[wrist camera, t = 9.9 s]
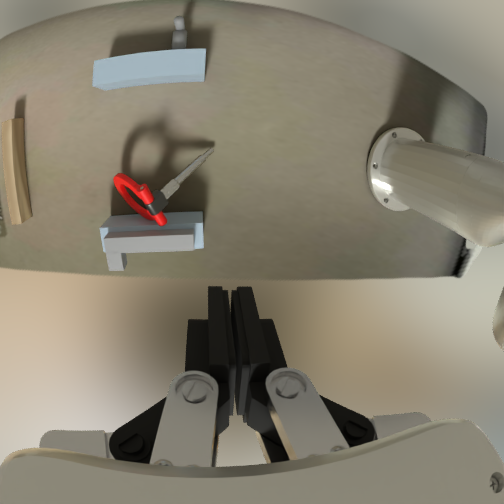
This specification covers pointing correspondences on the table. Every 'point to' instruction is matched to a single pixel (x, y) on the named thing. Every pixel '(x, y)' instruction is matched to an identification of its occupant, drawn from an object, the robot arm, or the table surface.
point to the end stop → (15, 170)
